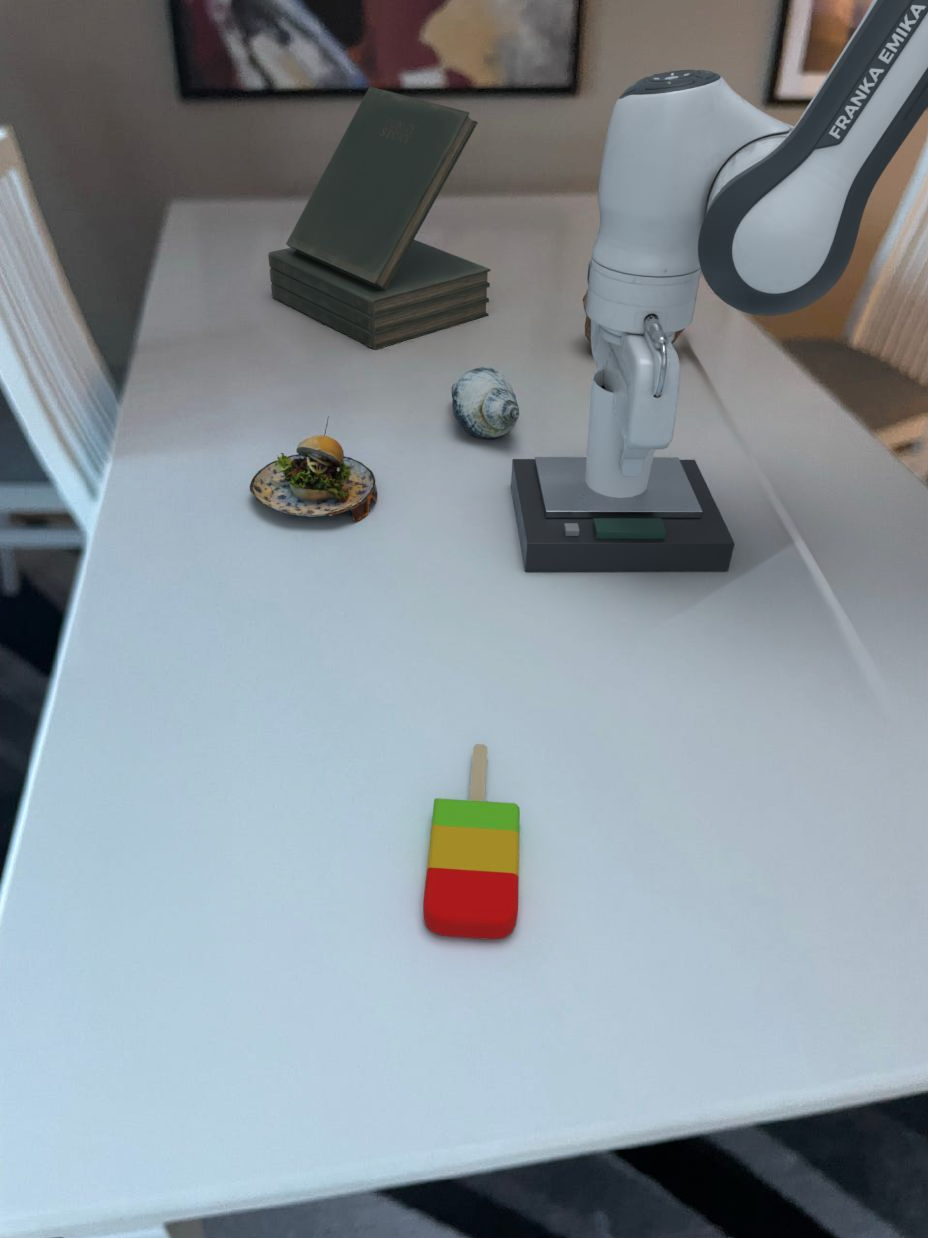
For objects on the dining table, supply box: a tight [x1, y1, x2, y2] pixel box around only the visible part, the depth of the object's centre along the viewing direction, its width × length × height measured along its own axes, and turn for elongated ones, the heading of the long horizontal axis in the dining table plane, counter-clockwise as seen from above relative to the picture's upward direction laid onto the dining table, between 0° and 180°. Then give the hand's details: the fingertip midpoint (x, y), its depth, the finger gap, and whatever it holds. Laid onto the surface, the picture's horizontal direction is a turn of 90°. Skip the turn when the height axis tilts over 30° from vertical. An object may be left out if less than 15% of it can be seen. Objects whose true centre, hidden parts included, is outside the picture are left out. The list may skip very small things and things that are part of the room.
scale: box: [510, 458, 736, 573], centre depth 92 cm, size 18×15×4 cm
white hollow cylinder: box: [585, 368, 656, 498], centre depth 89 cm, size 7×7×10 cm
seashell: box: [451, 366, 520, 440], centre depth 107 cm, size 6×8×12 cm
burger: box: [249, 415, 378, 523], centre depth 93 cm, size 12×12×8 cm
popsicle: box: [422, 743, 521, 940], centre depth 63 cm, size 6×15×2 cm, turn 177°
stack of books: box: [267, 86, 491, 350], centre depth 129 cm, size 23×20×25 cm
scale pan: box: [533, 456, 702, 518], centre depth 92 cm, size 14×10×1 cm
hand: (620, 446), depth 90 cm, fingers open, 8 cm apart
